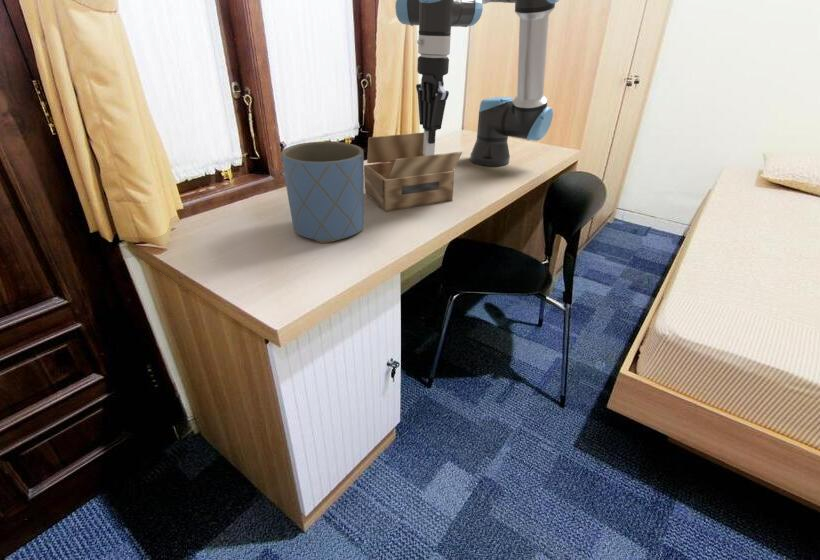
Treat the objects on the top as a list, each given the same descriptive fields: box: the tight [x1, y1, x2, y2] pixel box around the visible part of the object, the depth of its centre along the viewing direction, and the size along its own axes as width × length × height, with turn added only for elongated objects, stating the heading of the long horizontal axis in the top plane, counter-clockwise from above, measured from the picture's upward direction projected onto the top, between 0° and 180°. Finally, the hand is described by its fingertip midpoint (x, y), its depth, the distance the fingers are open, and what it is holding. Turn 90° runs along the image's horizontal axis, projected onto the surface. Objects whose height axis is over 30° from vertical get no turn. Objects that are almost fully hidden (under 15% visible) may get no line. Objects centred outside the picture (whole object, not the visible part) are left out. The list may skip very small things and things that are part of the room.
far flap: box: [366, 132, 424, 164], centre depth 132 cm, size 20×8×1 cm
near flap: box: [389, 151, 463, 179], centre depth 119 cm, size 20×8×1 cm
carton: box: [364, 161, 455, 212], centre depth 131 cm, size 23×16×9 cm
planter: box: [280, 141, 365, 244], centre depth 107 cm, size 19×19×20 cm
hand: (428, 154), depth 116 cm, fingers closed
